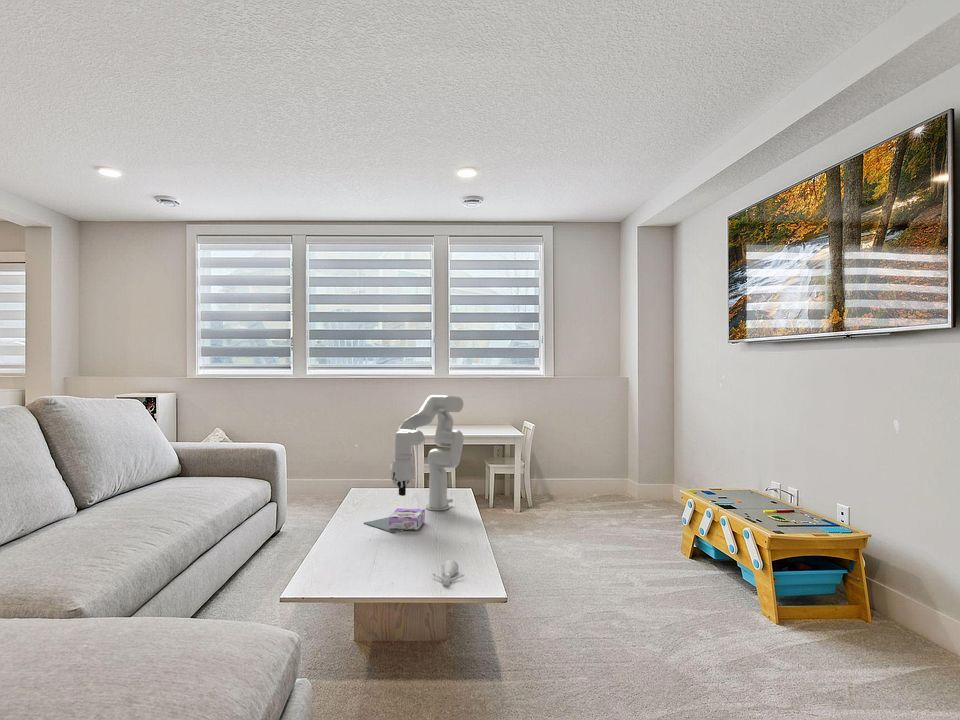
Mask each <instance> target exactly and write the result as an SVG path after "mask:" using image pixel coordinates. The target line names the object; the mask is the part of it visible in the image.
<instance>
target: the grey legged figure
mask: <svg viewBox="0 0 960 720" xmlns="http://www.w3.org/2000/svg"><path fill="white" fill-rule="evenodd" d="M459 567H460V566H459V564H458V562H456V561H455V560H452V559H448V560H447V559H446V560H445V561H444V562H443V563H442V565H441V570H442V575H443V576H444V577H442V576H439V575H437V574H436V573H435V572H433V573H432V575H433V577H436V578H437V579H439V580H441V581H442V586H444V587H448V586H451V582H453V581H454V580H457V579H460V578H462V577H463V578H464V577H465V574H461V575H459V576H455V574H456V573H457V572H458V571H459ZM454 576H455V577H454Z"/></svg>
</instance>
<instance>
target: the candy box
mask: <svg viewBox="0 0 960 720" xmlns="http://www.w3.org/2000/svg"><path fill="white" fill-rule="evenodd" d="M388 517H389V529H407V530H412V531H413V530H416V531H417V530H419V529H420V528H421V526H422V525H423V524H424V523H425V520H426V518H425V517H426V509H424V508H423V509H421V508H399V507H398V508H396V509H395V510H394V511H393V512H392V513H391V514H390V516H388Z"/></svg>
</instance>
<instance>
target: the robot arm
mask: <svg viewBox="0 0 960 720" xmlns="http://www.w3.org/2000/svg"><path fill="white" fill-rule="evenodd" d="M463 408H464V400H463V399H462V398H461V397H460V396H455V395H454V396H453V395H447V394H445V395H444V394H431V395H429V396H428V397H427V398H426V399H425V401H424V403H422V405H421V407H420V408H419V410H418V412H417V413H414V414H412V415H411V416H410V417H408V418H407V419H404V421H403V422H401V424H400V426H399V427H398V429H397V430H396V432H395V437H394V438H395V439H394V440H395V443H394V446H395V447H394V449H395V450H394V459H393V462H392V465H391V473H390V474H391V475H390V477H391V481H392V484H393V485H396V486H397V488H398V495H399V496H402V497H404V496H406V493H407V492H406V490H407V489H406V488H407V486H408V484H409V483H411V482H412V481H413V480H412V479H413V475H414V474H413V473H414V471H413V470H414V469H413V463H412V462H413V461H412V458H411V457H413V456H412V455H413V454H412V452H411V451H412V448H411V447H412V446H420V445H421V444H423V442H424V439H425V435H424V433H423V431H422V430H418V429H417V428H421V427H425V426H427V425H430V424H431V423H432V422H433V420H434V418H435V417H436V415H437V425H436V428H435V429H436V430H435V434H434V444H435V445H436V446H438V447H441V448H432V449H430V451H429V452H428V454H427V463H428V468H429V470H428V471H429V475H428V477H429V479H428V480H429V483H428V484H429V485H428V491H429V492H428V504H427V505H426V506H425V509H427V510H429V511H446V510H449V509H450V505H449V504H450V503H453V502H454V499H453V498H448V473H447V470H446V468H448V469H455V468H457V467H458V466H459V464H460V462H461V459H462V458H461V457H462V452H463V448H464V447H463V446H464V434H463V432H462V431H460V430H458V429H453V428H454V418H453V416H452V415H451V413H460V412H461V411H462V410H463ZM442 447H443V448H442ZM446 448H447V449H446ZM448 448H450V449H448Z"/></svg>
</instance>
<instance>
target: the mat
mask: <svg viewBox="0 0 960 720" xmlns="http://www.w3.org/2000/svg"><path fill="white" fill-rule="evenodd" d="M389 517H390V516H387V517H384V518H379V519H373V520H370V521H365V522H363V525H366V524H367V525H366V526H369V525H370V526H369V527H372V526H373V528H375V527H377V528H376V529H378V528H380V529H379V530H382V529H383V530H382V531H385V530H386V531H385V532H388V531H389V532H388V533H391V532H392V533H391V534H393V532H394V533H397V531H399V532H402V531H401V530H403V531H406V530H405V529H389Z"/></svg>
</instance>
